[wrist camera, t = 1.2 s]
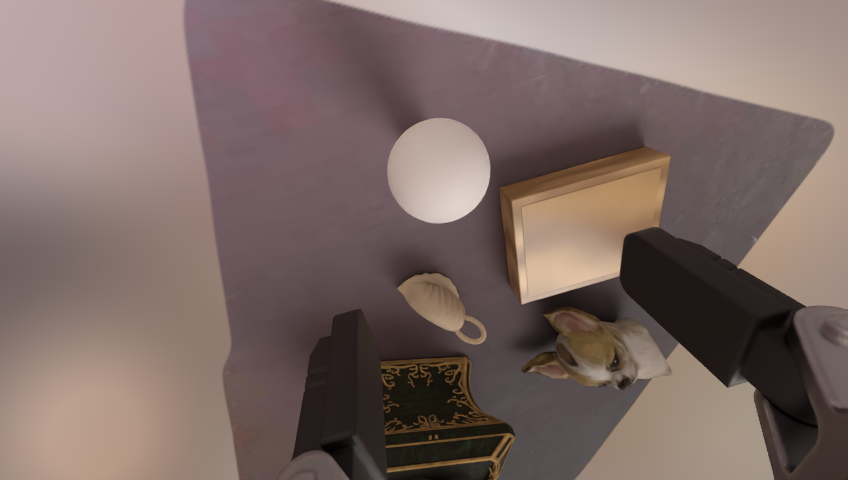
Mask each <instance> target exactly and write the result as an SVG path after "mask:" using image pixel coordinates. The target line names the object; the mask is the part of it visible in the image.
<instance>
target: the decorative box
mask: <svg viewBox="0 0 848 480" xmlns="http://www.w3.org/2000/svg"><path fill="white" fill-rule="evenodd" d="M381 372H382V390H383V408H384V425H385V443H386V461H387V479H388V480H496V479H497V478H498V477H499V474H500V472H501V469H502V467H503V465H504V462H505V460H506V458H507V455H508V453H509V451H510V448H511V446H512V444H513V441H514V439H515V434H514V431H513V429H512V427H511V426H510V425H509V424H507V423H506V422H503V421H501V420H499V419H497V418H494V417H492V416H490V415H487V414H485V413H484V412H482V411H481V410H480V408H479V407H478V406H477V404H476V403H475V401H474V399H473V396H472V393H471V387H470V375H471V361H470V360H469V359H468V358H467V357H449V358H431V359H414V360H396V361H381Z"/></svg>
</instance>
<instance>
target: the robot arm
mask: <svg viewBox="0 0 848 480" xmlns="http://www.w3.org/2000/svg"><path fill="white" fill-rule="evenodd" d="M620 281H621V284H622V287H623V288H624V290H625V292H626V293H627V294H628V295H629V296H630V297H631V298H632V299H633V300H634V301H635V302H636V303H637V304H639V305H640V306H641V307H642V308H643V309H644V310H645V311H646V312H647V313H648V314H649V315H650V316H651V317H652V318H654V319H655V320H656V321H657V322H658V323H659V324H660V325H661V326H662V327H663V328H664V329H665V330H666V331H667V332H668V333H670V334H671V335H672V336H673V337H674V338H675V339H676V340H677V341H678V342H679V343H680V344H681V345H682V346H683V347H685V348H686V349H687V350H688V351H689V352H690V353H691V354H692V355H693V356H694V357H695V358H696V359H697V360H698V361H700V362H701V363H702V364H703V365H704V366H705V367H706V368H707V369H708V370H709V371H710V372H711V373H712V374H714V375H715V376H716V377H717V378H718V379H719V380H720V381H721V382H722V383H723V384H724V385H725V386H726V387H727V388H728V387H731V386H735V385H738V384H742V383H745V382H749V383H751V384H752V385H753V386H754V387H755V388H756V390H755V392H754V402H755V405H756V409H757V412H758V417H759V421H760V425H761V428H762V432H763V436H764V440H765V443H766V447H767V451H768V455H769V459H770V462H771V466H772V470H773V475H774V480H848V310H847V309H843V308H838V307H832V306H809V307H806V306H804V305H803V304H801V303H799V302H797V301H796V300H794V299H792V298H791V297H789V296H787V295H785V294H784V293H782V292H780V291H779V290H777V289H775V288H773V287H772V286H770V285H768V284H767V283H765V282H763V281H762V280H760V279H758V278H756V277H755V276H753V275H751V274H749V273H748V272H746V271H744V270H743V269H741V268H740V269H738V268H737V267H736V265H734V264H733V263H731V262H729V261H727V260H726V259H721V256H719V255H717V254H716V253H714V252H712V251H710V250H709V249H707V248H705V247H704V246H702V245H699V244H696V243H693V242H690V241H686V240H683V239H680V238H678V239H677V238H675V237H674V236H672V235H670V234H669V233H667V232H665V231H664V230H662V229H660V228H658V227H651V228H647V229H644V230H640V231H637V232H633V233H630V234H627V235H626V236H625V238H624V241H623V249H622V257H621V266H620ZM307 373H308V376H307V378H306V384H305V392H304V395H303V401H302V407H301V413H300V419H299V424H298V430H297V436H296V442H295V448H294V452H293V457H292V459H291V462H289V463H288V464H287V465H286V466H285V467H284V469H283V470H282V471H281V472H280V474H279V475H278V476H277V478H276V480H388V479H387V461H386V443H385V425H384V408H383V390H382V372H381V360H380V354H379V350H378V347H377V344H376V341H375V339H374V337H373V335H372V332H371V330H370V328H369V326H368V323H367V321H366V319H365V317H364V314H363V312H362V311H361V309H357V310H353V311H350V312H346V313H343V314H339V315H336V316H334V318H333V324H332V333H331V336H328V337H325V338H321V339H320V340H319V341H318V343H317V345H316V347H315V348H314V350H313V352H312V354H311V355H310V360H309V366H308V372H307Z"/></svg>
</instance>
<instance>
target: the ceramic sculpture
mask: <svg viewBox="0 0 848 480" xmlns="http://www.w3.org/2000/svg"><path fill="white" fill-rule="evenodd" d="M543 316H545V317H546V318H547V319H548V321H549V322H550V324H551V326H552V327H553V328H554V329H555V330H556V331H557V332H559V335H558V337H557V339H556V344H555V348H556V352H543V353H541V354H539V355H537V356H536V357H535V358H533V359H532V360H531V361H530V362H529V363H527V364H526V365H525V366H524V367H523V368H522V370H521V372H522V373H529V372H536V373H538V374H542V375H546V376H547V377H551V378H561V379H564V380H565V379H568V378H573V379H574V380H575V381H577V382H578V383H580V384H582V385H584V386H593V385H594V386H595V387H604V386H608V385H612V386H614V387H615V388H617V389H621V390H624V389H626V388H630V387H631V385H632V384H633V383H634V382H635V381H636V379H637V378H639V379H649V378H653V377H659V376H669V375H672V371H671V368H670V367H669V365H668V364H667V362H666V359H665V357H664V356H663V355H662V353H661V352H660V350H659V348H658V347H657V345H656V343H655V342H654V340H653V339H652V337H651V336H650V334H649V332H648V330H647V329H646V328H645V327H644V326H643V325H641V324H640V323H638V322H637V321H636V320H633V319H630V318H625V317H623V318H618V319H617V320H615V322H614V323H610V322H601V321H600V320H599V319H598V318H597V317H595V316H594V315H592V314H589V313H587V312H585V311H583V310H579V309H576V308H573V307H560V308H556V309H552V310H549V311H546V312H543Z"/></svg>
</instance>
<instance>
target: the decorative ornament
mask: <svg viewBox="0 0 848 480" xmlns="http://www.w3.org/2000/svg"><path fill="white" fill-rule="evenodd" d="M397 289H398V290H399V291H400V292H401V293H402V294H403V295H404V297H405V299H406V301H407V302H408V304H409V305H410V306H411V307H412V308H413V309H414V310H415V311H416V312H417V313H418V314H420V315H421V316H422V317H424V318H425V319H427V320H429V321H430V322H432V323H434V324H435V325H437V326H439V327H441V328H443V329H446V330H449V331H455V333H456V334H457V336H458V337H459V338H460V339H462V340H463V341H465V342H467V343H470V344H480V343H482V342H483V341H484V340H485V338H486V330H485V328H484V326H483V325H482V324H481V322H480V321H478V320H477V319H475V318H474V317H472V316H469V315H466V312H465V308H464V306H463V304H462V302H461V301H460V299H459V294H458V293H457V290H456V287H455V286H454V285H453V284H452V282H451V280H450V279H449V278H447V277H444V276H442V275H441V274H439V273H433V274H428V273H424V274H422V275H415V276H413V277H412V278H409V279H408V280H406V281H405V282H404V283H402V284H401V285H400V286H399V287H398V288H397ZM464 320H466V321H470V322H472V323H474V324H475V325H476V326H478V328H479V329H480V331H481V337H480V338H478V339H471V338H469V337H467V336H465V335H464V334H463V333H461V331H460V330H459V329H460V328H461V327H462V325H463V323H464Z"/></svg>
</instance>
